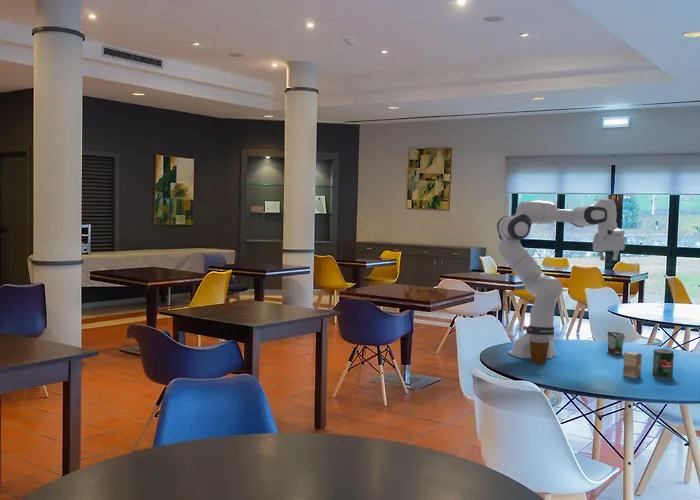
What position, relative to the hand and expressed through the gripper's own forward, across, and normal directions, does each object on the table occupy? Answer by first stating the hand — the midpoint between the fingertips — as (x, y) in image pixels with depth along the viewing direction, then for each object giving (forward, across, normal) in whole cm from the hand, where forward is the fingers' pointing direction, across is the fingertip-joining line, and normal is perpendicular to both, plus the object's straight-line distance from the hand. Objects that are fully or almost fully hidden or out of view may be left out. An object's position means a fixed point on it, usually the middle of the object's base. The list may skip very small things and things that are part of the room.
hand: (608, 260), depth 336 cm
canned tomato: (+50, +40, -5) cm, 65 cm away
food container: (+47, -8, +9) cm, 49 cm away
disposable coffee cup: (+46, +5, -44) cm, 64 cm away
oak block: (+50, +38, -19) cm, 65 cm away
